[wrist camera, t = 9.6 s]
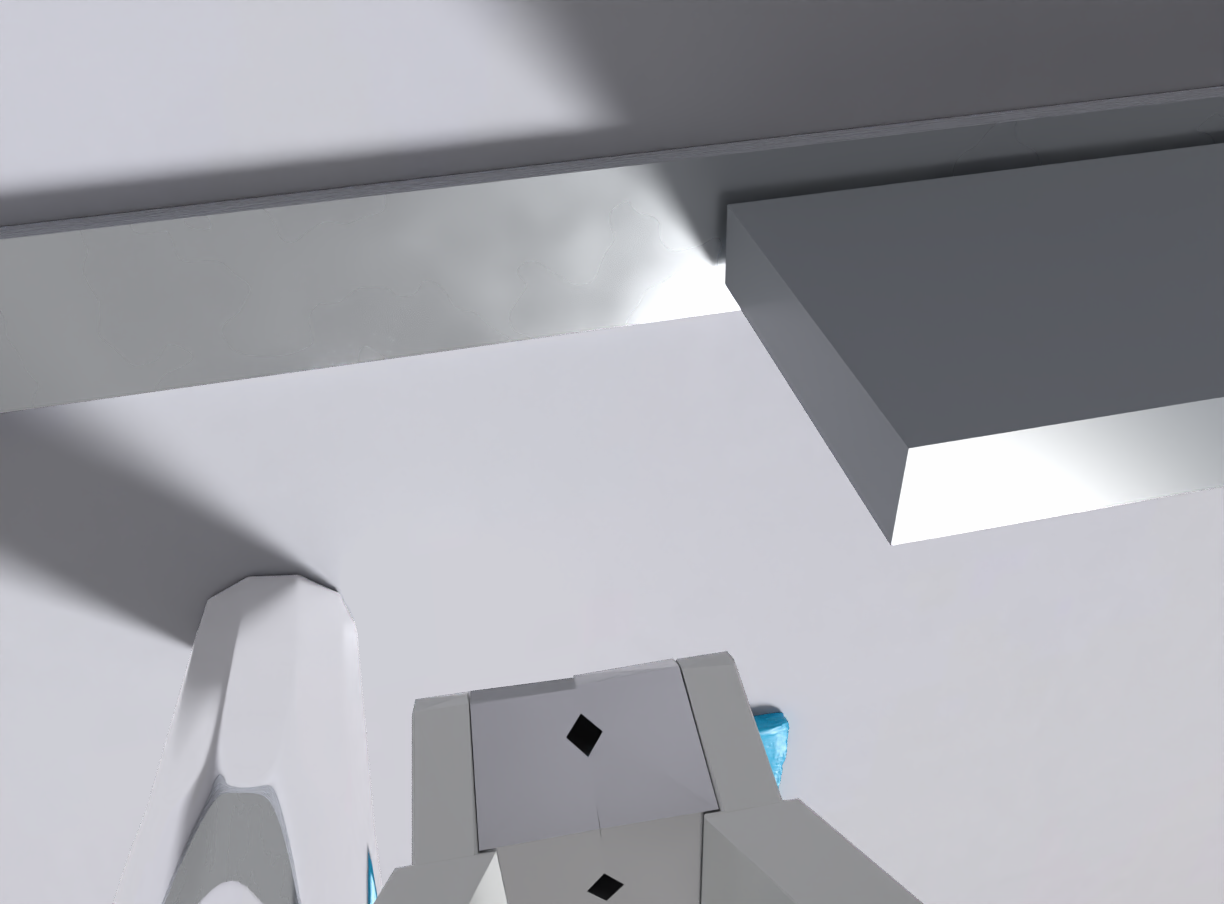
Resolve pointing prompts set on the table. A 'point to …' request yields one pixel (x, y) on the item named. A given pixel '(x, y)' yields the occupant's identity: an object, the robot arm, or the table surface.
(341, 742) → the milkshake
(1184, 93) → the rail
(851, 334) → the screen
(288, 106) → the table surface
